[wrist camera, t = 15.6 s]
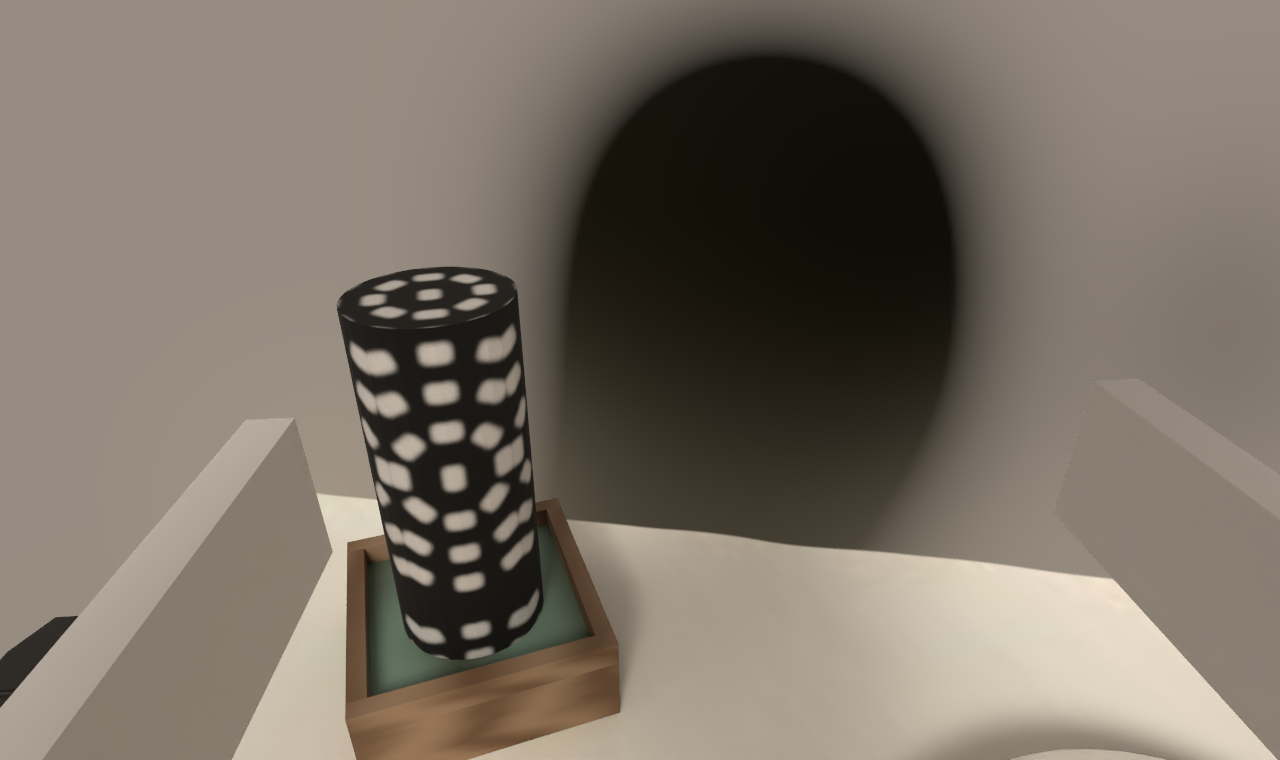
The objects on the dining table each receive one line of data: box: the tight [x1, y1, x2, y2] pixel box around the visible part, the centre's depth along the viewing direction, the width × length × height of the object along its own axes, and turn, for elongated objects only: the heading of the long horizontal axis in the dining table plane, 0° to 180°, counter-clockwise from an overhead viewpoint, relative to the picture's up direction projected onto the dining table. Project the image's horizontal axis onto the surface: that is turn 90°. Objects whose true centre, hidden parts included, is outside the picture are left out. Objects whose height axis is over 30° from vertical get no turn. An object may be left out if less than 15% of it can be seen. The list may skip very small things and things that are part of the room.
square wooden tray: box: [345, 499, 620, 760], centre depth 44 cm, size 14×14×6 cm
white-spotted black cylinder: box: [337, 267, 544, 660], centre depth 39 cm, size 8×8×20 cm
